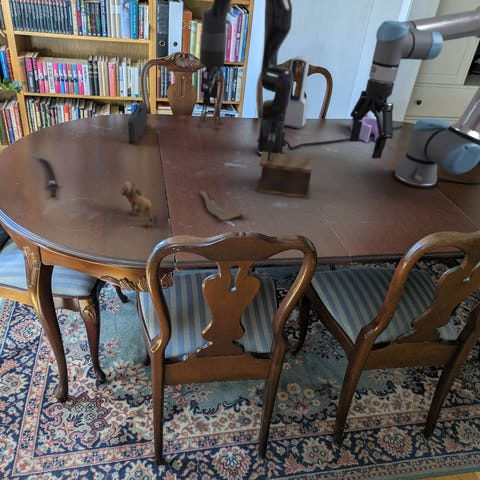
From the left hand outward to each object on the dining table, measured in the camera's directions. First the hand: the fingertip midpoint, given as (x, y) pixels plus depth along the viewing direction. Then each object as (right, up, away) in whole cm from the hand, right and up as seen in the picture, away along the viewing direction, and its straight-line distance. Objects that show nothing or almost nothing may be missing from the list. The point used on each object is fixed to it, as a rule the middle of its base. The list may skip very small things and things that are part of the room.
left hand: (210, 101), depth 149 cm
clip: (+67, +4, +67) cm, 95 cm away
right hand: (+49, -16, -2) cm, 51 cm away
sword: (-53, -24, +3) cm, 58 cm away
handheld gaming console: (-32, -1, +42) cm, 53 cm away
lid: (+25, -19, +7) cm, 32 cm away
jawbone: (+4, -34, -3) cm, 34 cm away
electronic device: (+33, +9, +68) cm, 77 cm away
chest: (+24, -26, +12) cm, 38 cm away
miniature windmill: (-4, +7, +59) cm, 59 cm away
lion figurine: (-20, -38, -12) cm, 44 cm away
